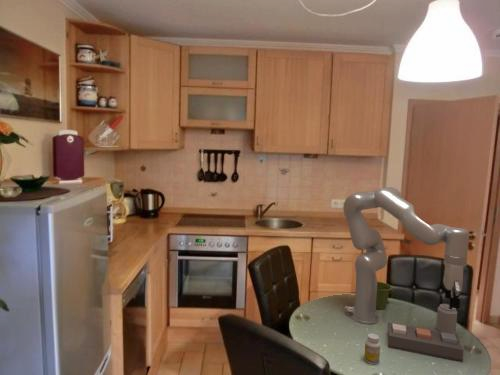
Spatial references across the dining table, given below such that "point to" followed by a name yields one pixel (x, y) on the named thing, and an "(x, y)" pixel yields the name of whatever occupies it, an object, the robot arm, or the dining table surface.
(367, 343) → the supplement bottle
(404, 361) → the dining table surface
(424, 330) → the terracotta key
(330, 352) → the dining table surface
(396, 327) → the cream key
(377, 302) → the plant pot
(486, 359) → the dining table surface
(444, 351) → the key panel
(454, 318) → the can
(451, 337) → the slate key
